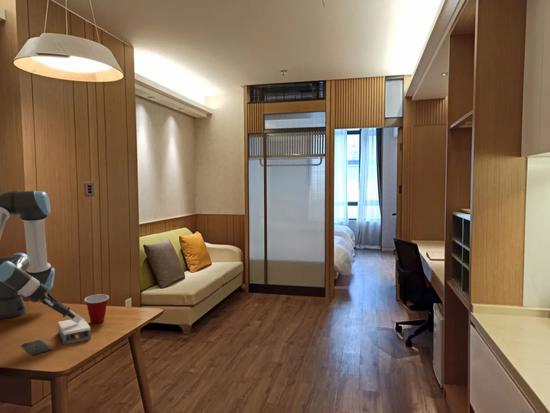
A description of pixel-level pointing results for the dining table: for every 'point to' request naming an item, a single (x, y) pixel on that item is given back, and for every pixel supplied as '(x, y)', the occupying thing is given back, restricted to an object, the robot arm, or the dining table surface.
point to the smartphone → (36, 347)
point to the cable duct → (74, 336)
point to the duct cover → (73, 326)
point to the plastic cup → (96, 307)
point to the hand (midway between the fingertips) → (79, 320)
